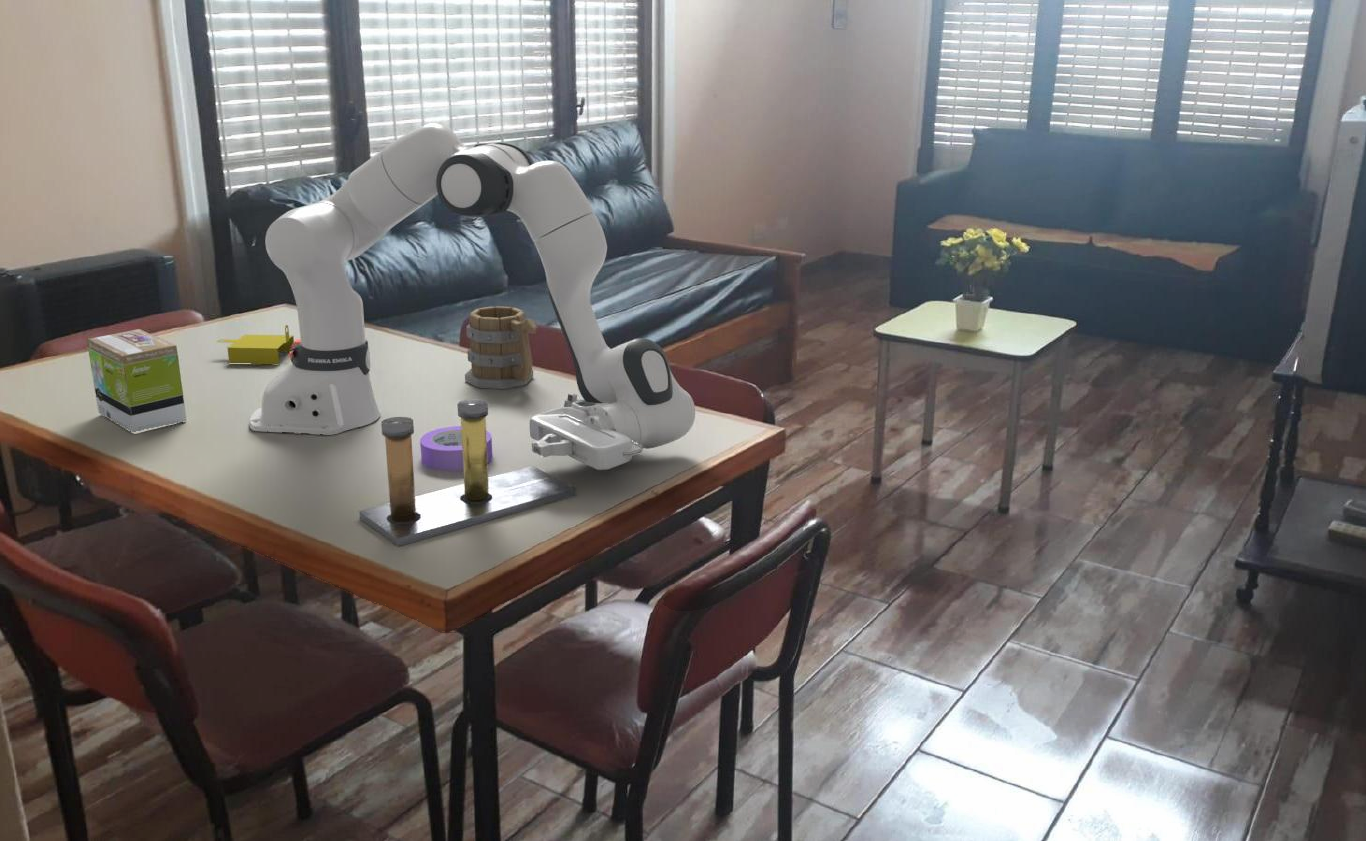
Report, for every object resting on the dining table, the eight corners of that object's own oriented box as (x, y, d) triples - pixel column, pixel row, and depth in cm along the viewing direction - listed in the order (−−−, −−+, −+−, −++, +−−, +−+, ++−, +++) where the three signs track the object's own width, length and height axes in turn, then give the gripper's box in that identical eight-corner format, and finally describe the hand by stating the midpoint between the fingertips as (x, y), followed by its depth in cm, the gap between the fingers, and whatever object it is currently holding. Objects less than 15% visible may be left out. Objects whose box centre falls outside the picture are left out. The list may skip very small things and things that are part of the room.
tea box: (96, 416, 217) (84, 337, 212) (151, 404, 224) (140, 327, 219) (132, 436, 208) (121, 353, 203) (189, 422, 215) (178, 342, 210)
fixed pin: (396, 525, 170) (390, 429, 166) (382, 516, 174) (375, 420, 169) (424, 518, 173) (418, 422, 168) (410, 508, 176) (404, 414, 172)
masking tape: (429, 475, 193) (428, 453, 191) (414, 452, 203) (413, 430, 202) (500, 466, 197) (499, 444, 196) (482, 443, 207) (481, 422, 206)
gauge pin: (471, 503, 178) (467, 410, 173) (456, 494, 181) (451, 403, 176) (497, 496, 180) (493, 404, 176) (481, 488, 184) (478, 397, 179)
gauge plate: (398, 546, 167) (397, 538, 167) (360, 518, 176) (359, 510, 175) (575, 495, 185) (575, 487, 185) (533, 472, 194) (532, 465, 194)
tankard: (456, 377, 243) (453, 305, 238) (511, 367, 250) (509, 297, 245) (504, 403, 228) (501, 326, 223) (561, 391, 235) (560, 317, 230)
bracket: (228, 314, 259) (297, 316, 259) (232, 349, 261) (301, 350, 261) (200, 333, 244) (274, 334, 244) (204, 369, 247) (277, 371, 247)
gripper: (649, 468, 187) (575, 488, 179) (574, 433, 202) (503, 451, 193) (649, 429, 185) (575, 449, 177) (573, 397, 200) (501, 414, 191)
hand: (536, 449), depth 185 cm, fingers closed
